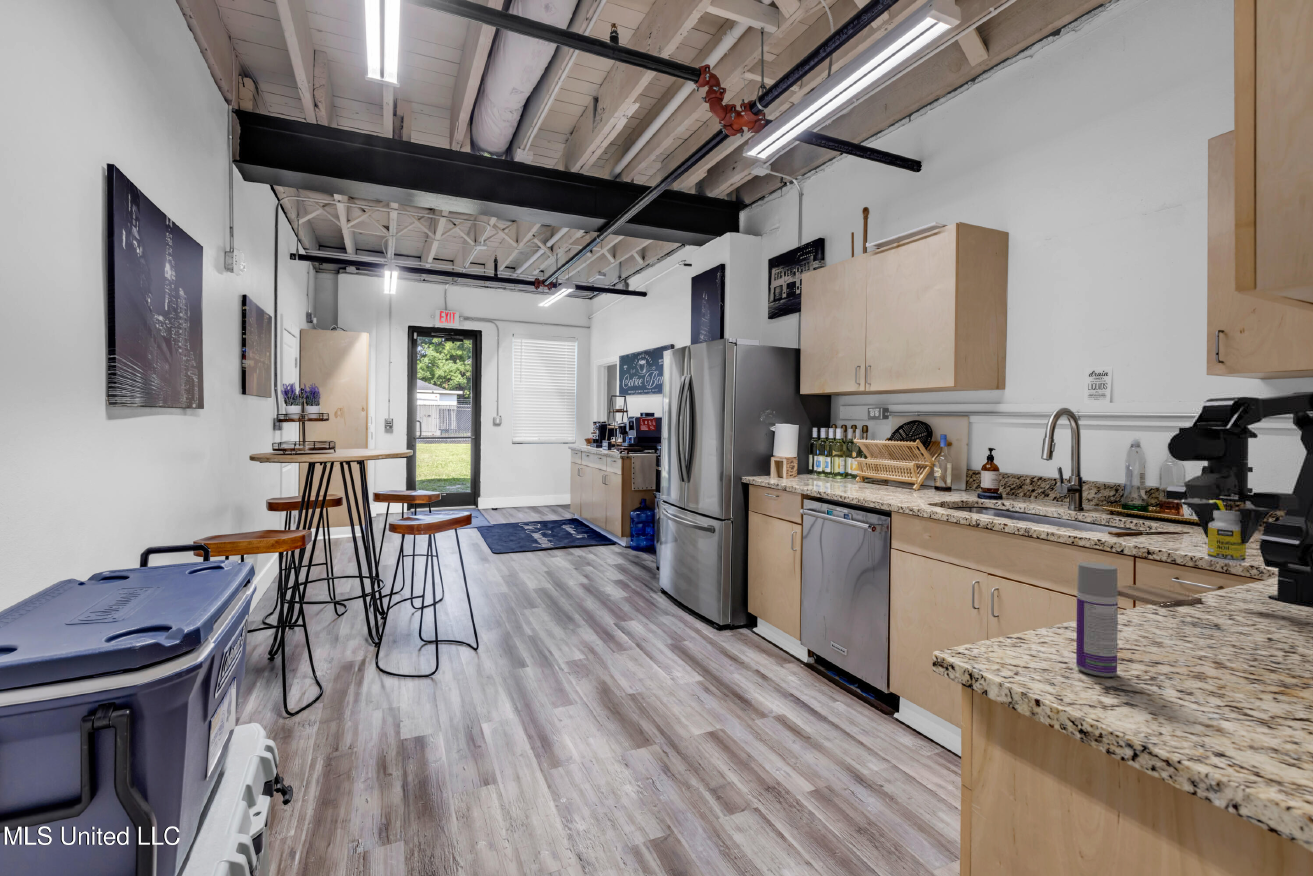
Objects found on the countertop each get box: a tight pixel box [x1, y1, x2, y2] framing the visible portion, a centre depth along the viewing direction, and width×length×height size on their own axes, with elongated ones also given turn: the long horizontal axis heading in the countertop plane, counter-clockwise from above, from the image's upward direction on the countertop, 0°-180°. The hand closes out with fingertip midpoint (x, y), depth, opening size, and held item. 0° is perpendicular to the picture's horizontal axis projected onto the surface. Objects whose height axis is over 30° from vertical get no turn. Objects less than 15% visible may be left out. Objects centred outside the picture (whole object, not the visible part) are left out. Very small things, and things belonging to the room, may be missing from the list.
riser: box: [1117, 583, 1203, 608], centre depth 121 cm, size 11×11×2 cm
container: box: [1075, 561, 1119, 678], centre depth 83 cm, size 5×5×15 cm
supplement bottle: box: [1206, 509, 1247, 565], centre depth 114 cm, size 5×5×10 cm
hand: (1226, 540), depth 115 cm, fingers closed on supplement bottle, 5 cm apart
